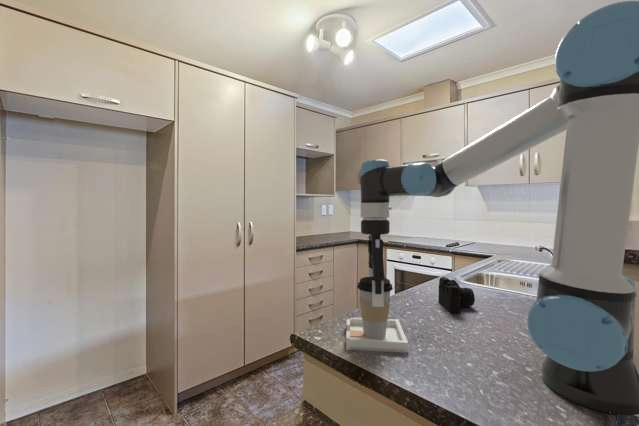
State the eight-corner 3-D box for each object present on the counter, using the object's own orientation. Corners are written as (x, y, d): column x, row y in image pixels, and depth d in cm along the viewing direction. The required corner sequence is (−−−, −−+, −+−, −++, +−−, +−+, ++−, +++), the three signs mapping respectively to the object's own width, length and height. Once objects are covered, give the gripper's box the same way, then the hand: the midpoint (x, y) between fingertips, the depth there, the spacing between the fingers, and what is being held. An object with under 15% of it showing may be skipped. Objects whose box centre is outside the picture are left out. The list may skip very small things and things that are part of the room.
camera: (481, 315, 100) (481, 285, 100) (447, 314, 101) (448, 284, 101) (465, 301, 114) (465, 275, 113) (435, 301, 115) (436, 274, 115)
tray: (407, 352, 74) (408, 342, 74) (346, 349, 76) (346, 339, 76) (398, 328, 89) (398, 319, 89) (346, 325, 91) (346, 317, 91)
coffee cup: (379, 326, 89) (380, 274, 88) (399, 339, 80) (400, 282, 79) (350, 331, 85) (351, 277, 85) (368, 345, 76) (368, 286, 76)
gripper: (396, 220, 69) (397, 314, 69) (384, 217, 94) (384, 286, 94) (362, 221, 70) (363, 313, 70) (359, 217, 94) (360, 286, 95)
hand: (375, 298), depth 82 cm, fingers open, 13 cm apart
